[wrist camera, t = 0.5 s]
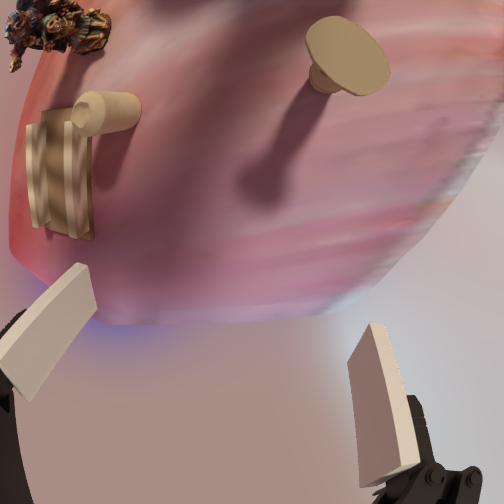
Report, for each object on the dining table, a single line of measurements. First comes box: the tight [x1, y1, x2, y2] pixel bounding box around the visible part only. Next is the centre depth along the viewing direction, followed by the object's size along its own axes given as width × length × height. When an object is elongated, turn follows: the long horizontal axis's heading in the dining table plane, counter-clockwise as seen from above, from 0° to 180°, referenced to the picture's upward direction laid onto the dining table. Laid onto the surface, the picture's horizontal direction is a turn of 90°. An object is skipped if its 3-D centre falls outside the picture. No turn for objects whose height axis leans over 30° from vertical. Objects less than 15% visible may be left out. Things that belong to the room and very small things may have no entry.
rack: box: [26, 107, 95, 241], centre depth 34 cm, size 22×12×5 cm, turn 170°
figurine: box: [4, 0, 111, 73], centre depth 17 cm, size 11×9×18 cm
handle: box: [305, 16, 391, 96], centre depth 20 cm, size 5×6×15 cm
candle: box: [70, 91, 142, 137], centre depth 26 cm, size 6×6×10 cm
